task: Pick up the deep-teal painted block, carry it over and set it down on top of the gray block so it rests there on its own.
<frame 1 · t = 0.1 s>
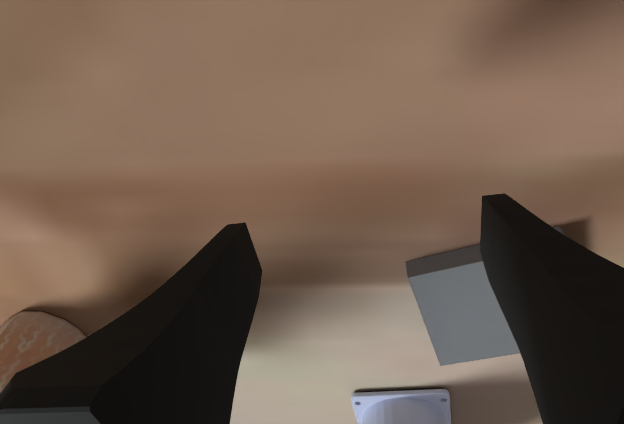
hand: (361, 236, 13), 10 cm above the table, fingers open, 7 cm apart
gray block: (488, 289, 27), on the table
brown statue: (58, 345, 35), on the table
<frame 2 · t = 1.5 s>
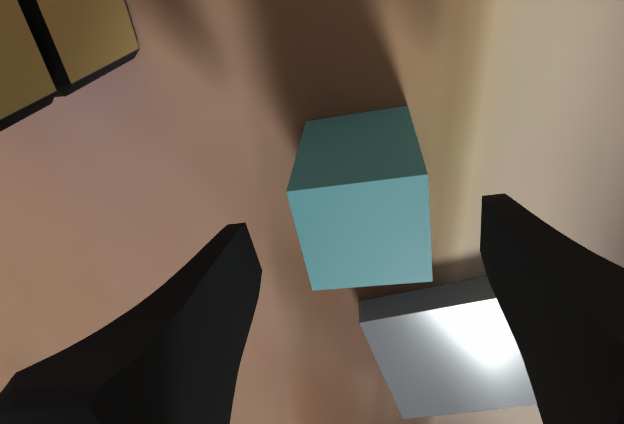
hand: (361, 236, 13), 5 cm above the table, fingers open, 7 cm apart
gray block: (458, 333, 23), on the table
teal block: (362, 158, 17), on the table
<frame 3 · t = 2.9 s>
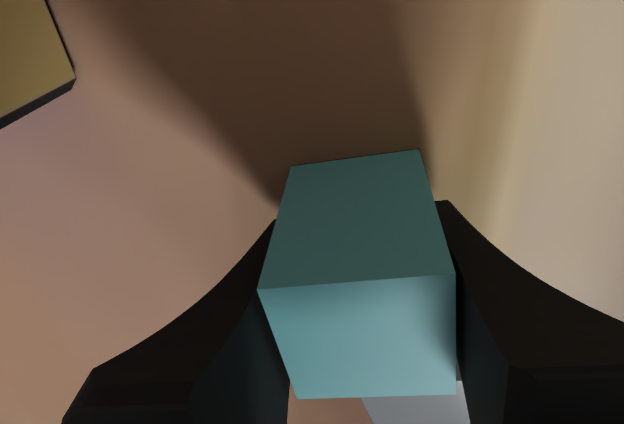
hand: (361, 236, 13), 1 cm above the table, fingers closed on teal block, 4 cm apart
gray block: (473, 396, 20), on the table
teal block: (361, 210, 14), on the table, touching gripper
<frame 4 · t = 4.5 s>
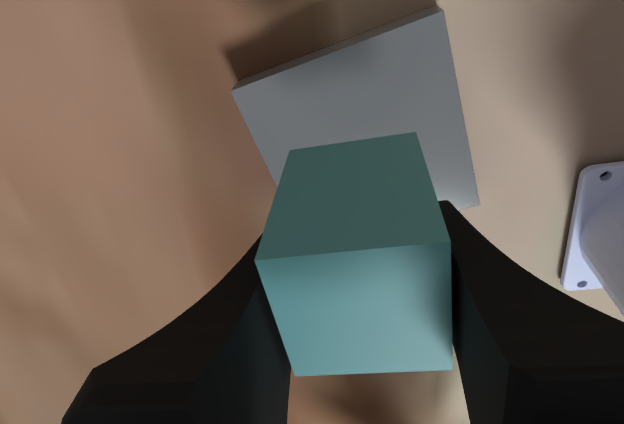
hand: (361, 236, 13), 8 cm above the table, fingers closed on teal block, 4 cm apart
gray block: (361, 133, 20), on the table
teal block: (359, 195, 14), point 7 cm above the table, touching gripper
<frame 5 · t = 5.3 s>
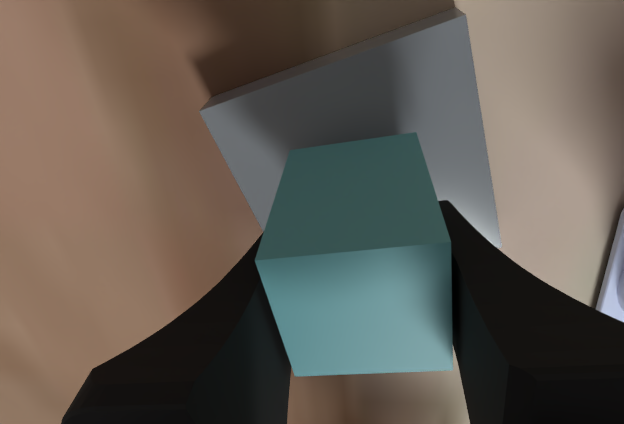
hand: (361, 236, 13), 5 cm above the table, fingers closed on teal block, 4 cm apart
gray block: (360, 159, 17), on the table
teal block: (359, 195, 14), point 3 cm above the table, touching gripper
when the fingers open (5 cm above the table, at t = 6.1 s): teal block drops 1 cm, resting on gray block.
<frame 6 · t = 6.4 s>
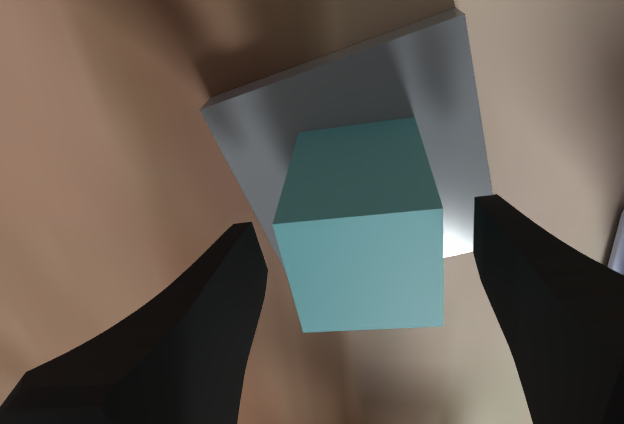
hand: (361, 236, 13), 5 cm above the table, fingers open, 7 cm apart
gray block: (360, 158, 17), on the table, touching teal block
teal block: (361, 175, 15), point 1 cm above the table, touching gray block
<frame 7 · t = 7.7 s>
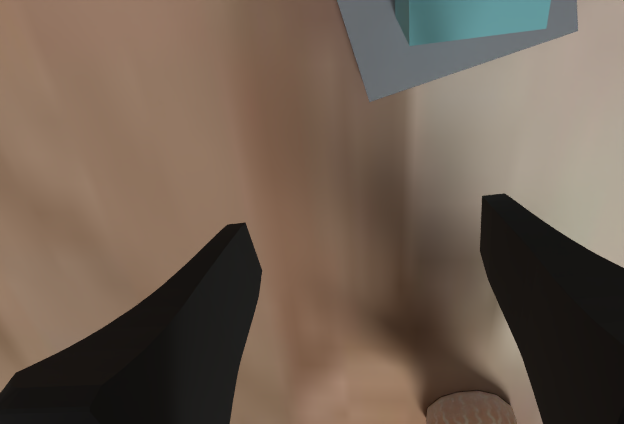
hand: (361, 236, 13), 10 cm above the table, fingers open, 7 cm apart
brown statue: (480, 412, 36), on the table
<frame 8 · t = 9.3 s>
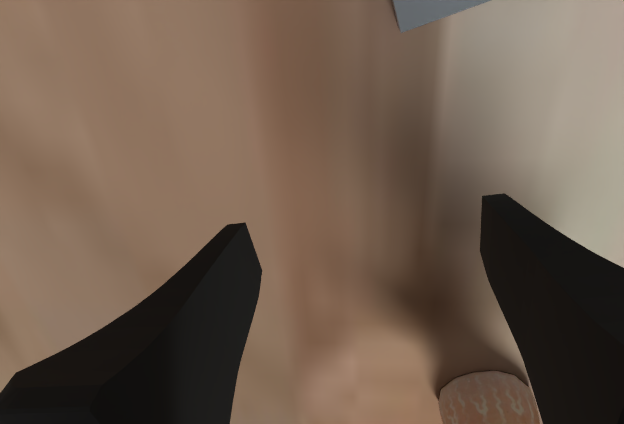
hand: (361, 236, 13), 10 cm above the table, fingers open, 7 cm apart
brown statue: (495, 394, 34), on the table
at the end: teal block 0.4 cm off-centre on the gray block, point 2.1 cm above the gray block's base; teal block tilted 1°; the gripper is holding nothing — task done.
